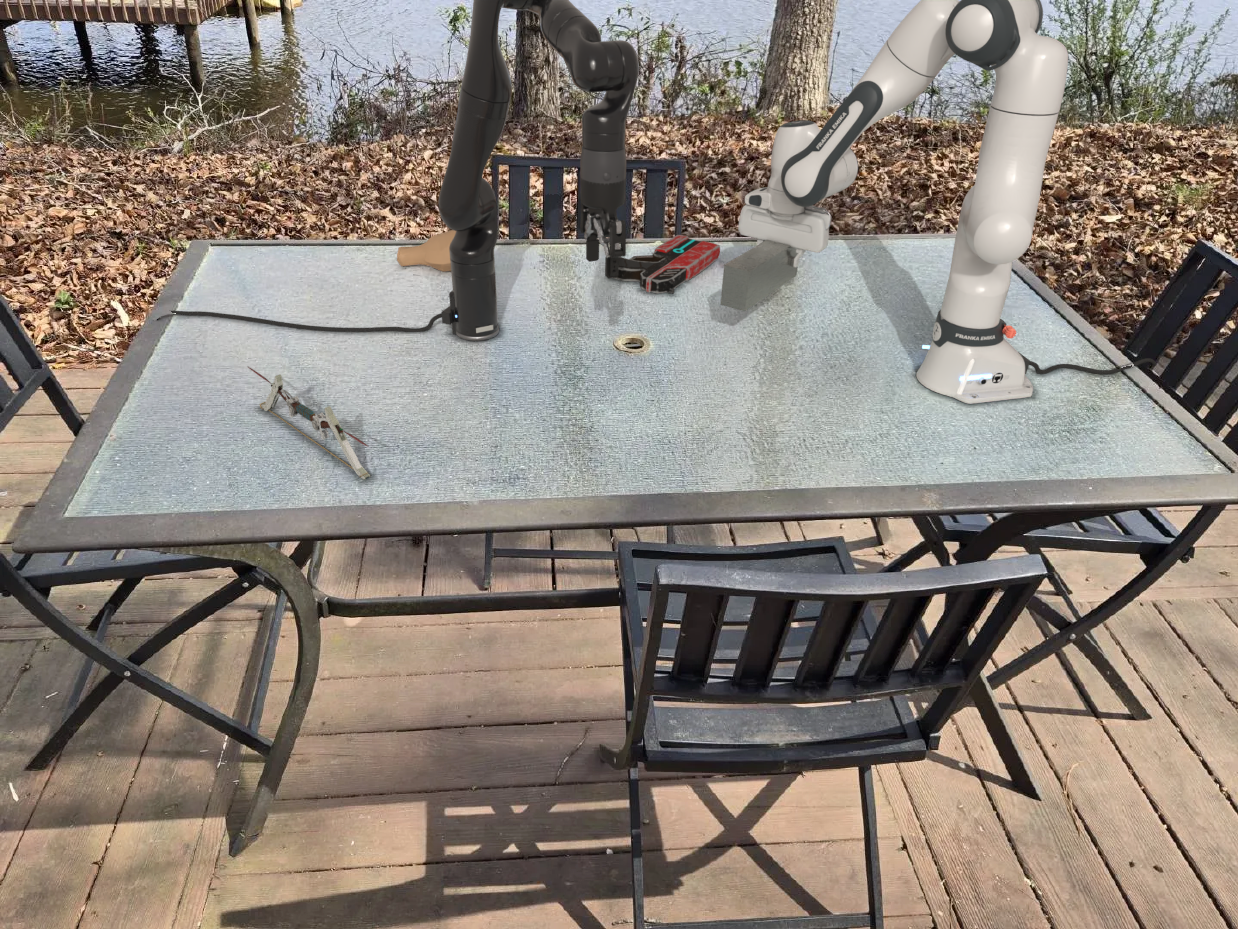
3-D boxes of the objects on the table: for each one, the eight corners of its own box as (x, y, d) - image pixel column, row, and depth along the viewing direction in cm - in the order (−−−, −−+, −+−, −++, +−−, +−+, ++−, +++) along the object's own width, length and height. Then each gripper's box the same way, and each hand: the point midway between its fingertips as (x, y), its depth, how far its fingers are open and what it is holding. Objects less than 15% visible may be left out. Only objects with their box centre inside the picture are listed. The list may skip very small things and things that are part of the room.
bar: (745, 311, 181) (749, 271, 176) (720, 304, 183) (724, 264, 178) (796, 276, 198) (801, 238, 193) (773, 270, 201) (777, 232, 196)
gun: (600, 263, 216) (668, 282, 208) (660, 227, 238) (724, 243, 230) (599, 280, 219) (667, 299, 211) (659, 243, 241) (723, 259, 233)
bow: (380, 482, 144) (372, 430, 139) (371, 487, 143) (362, 435, 137) (261, 400, 165) (250, 352, 160) (252, 403, 164) (240, 355, 159)
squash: (475, 275, 220) (467, 243, 214) (398, 282, 222) (387, 251, 216) (480, 253, 228) (473, 221, 222) (405, 260, 230) (396, 229, 224)
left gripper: (642, 184, 140) (638, 280, 149) (607, 161, 151) (605, 252, 160) (599, 188, 137) (597, 286, 146) (566, 165, 148) (567, 257, 157)
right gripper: (838, 206, 184) (828, 268, 192) (751, 187, 194) (745, 248, 201) (826, 213, 180) (816, 277, 187) (738, 194, 189) (732, 256, 197)
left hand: (601, 268), depth 153 cm, fingers open, 8 cm apart
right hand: (778, 262), depth 194 cm, fingers closed on bar, 6 cm apart
